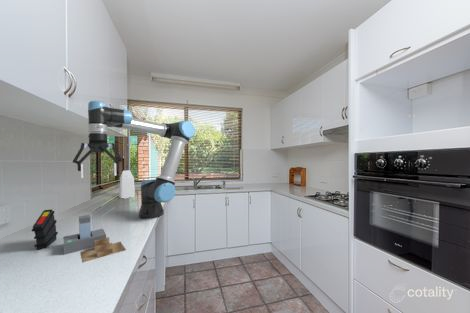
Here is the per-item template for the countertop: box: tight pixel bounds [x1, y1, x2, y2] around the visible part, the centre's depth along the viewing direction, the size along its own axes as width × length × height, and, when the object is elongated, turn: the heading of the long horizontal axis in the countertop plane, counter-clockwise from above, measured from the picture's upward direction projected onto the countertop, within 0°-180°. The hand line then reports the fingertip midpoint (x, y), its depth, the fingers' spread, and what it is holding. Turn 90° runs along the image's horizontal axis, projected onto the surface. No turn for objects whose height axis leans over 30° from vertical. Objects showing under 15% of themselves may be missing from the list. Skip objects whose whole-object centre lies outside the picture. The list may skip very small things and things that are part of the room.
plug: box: [78, 214, 92, 239], centre depth 87 cm, size 4×5×12 cm
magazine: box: [31, 209, 59, 251], centre depth 91 cm, size 4×13×15 cm, turn 21°
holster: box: [79, 237, 127, 263], centre depth 81 cm, size 14×11×4 cm
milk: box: [118, 169, 136, 199], centre depth 201 cm, size 12×12×26 cm
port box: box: [62, 228, 107, 256], centre depth 87 cm, size 14×10×5 cm
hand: (99, 176), depth 101 cm, fingers open, 13 cm apart
